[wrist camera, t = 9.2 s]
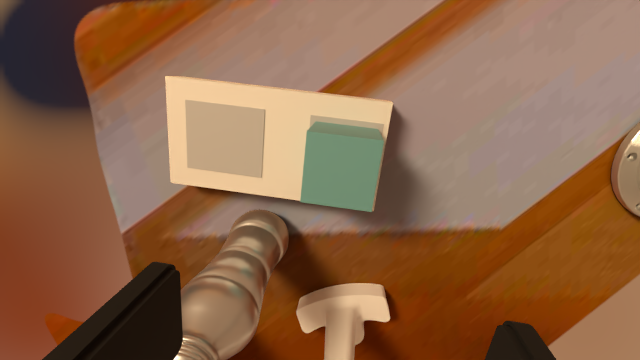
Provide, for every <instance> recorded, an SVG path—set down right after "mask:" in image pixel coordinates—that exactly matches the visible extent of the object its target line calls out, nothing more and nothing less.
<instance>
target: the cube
mask: <svg viewBox="0 0 640 360" xmlns="http://www.w3.org/2000/svg"><path fill="white" fill-rule="evenodd" d="M383 145H384V139H383V137H382V135H381V134H380V132H379V130H378V129H375V128H366V127H358V126H350V125H342V124H334V123H325V122H317V121H315V123H314V124H313V125H312V126H311V127H310V128H309V129H308V130H307V134H306V145H305V156H304V166H303V177H302V188H301V198H300V202H303V203H310V204H318V205H325V206H332V207H339V208H346V209H353V210H360V211H368V212H372V207H373V202H374V196H375V190H376V185H377V179H378V173H379V167H380V162H381V156H382V150H383Z"/></svg>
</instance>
